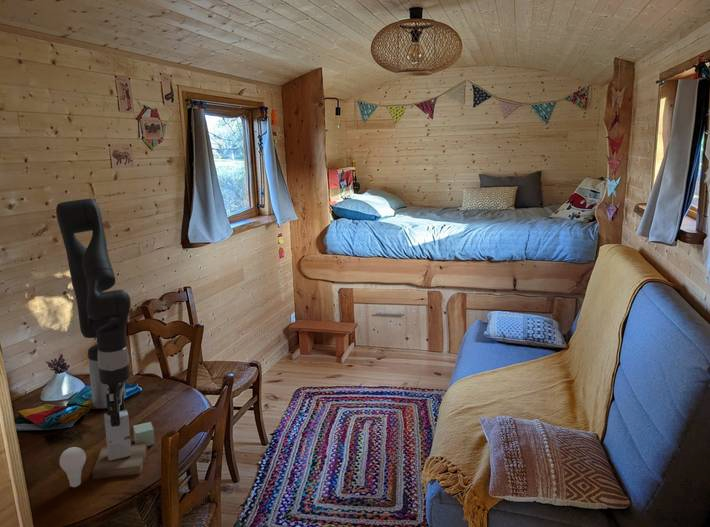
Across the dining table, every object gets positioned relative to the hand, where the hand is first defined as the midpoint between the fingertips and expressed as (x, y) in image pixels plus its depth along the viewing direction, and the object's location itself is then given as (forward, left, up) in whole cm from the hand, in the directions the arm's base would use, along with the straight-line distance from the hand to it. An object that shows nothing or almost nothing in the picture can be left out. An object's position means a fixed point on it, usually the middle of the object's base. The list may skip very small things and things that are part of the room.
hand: (118, 417), depth 148 cm
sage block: (-10, +5, -14) cm, 18 cm away
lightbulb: (+8, -10, -14) cm, 19 cm away
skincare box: (0, 0, -12) cm, 12 cm away
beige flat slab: (0, 0, -15) cm, 15 cm away
